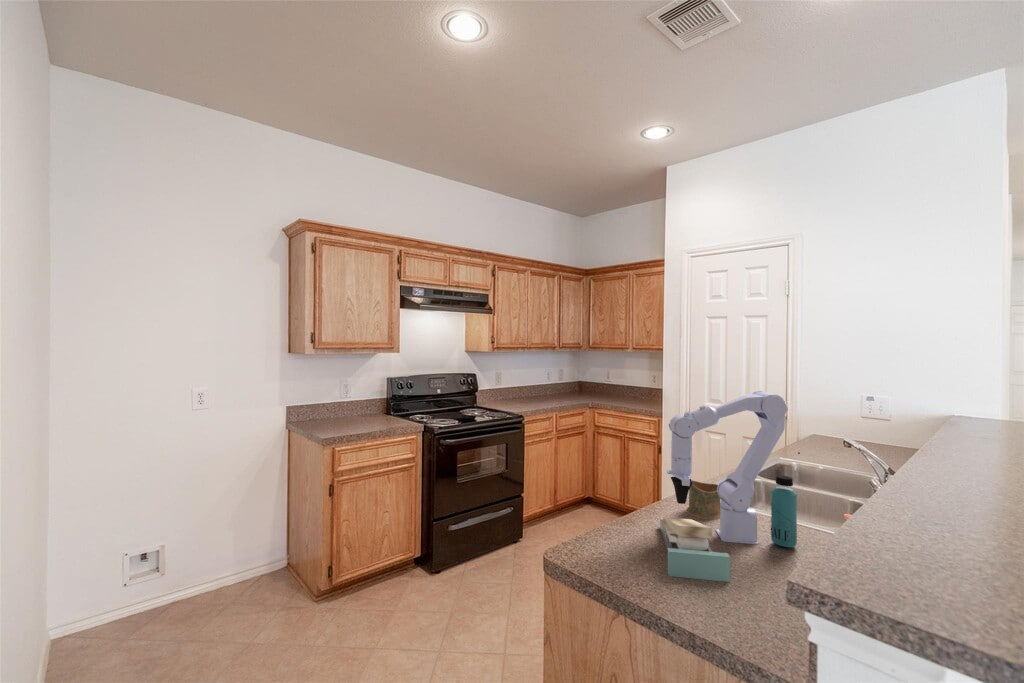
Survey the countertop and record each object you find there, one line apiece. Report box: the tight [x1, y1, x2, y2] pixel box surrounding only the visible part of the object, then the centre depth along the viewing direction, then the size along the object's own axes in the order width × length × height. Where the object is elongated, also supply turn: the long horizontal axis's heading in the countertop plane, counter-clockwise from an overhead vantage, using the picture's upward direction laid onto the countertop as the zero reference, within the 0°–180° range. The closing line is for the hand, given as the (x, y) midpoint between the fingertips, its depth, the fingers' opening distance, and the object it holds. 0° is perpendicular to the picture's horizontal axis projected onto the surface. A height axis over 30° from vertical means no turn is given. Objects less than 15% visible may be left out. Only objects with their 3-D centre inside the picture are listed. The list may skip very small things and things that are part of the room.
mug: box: [685, 479, 721, 520], centre depth 151 cm, size 12×18×12 cm, turn 73°
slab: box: [662, 517, 713, 539], centre depth 123 cm, size 8×16×2 cm, turn 176°
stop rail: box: [667, 548, 731, 583], centre depth 111 cm, size 14×2×6 cm, turn 79°
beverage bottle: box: [770, 475, 798, 548], centre depth 127 cm, size 6×7×20 cm
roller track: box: [659, 519, 713, 552], centre depth 125 cm, size 11×27×4 cm, turn 169°
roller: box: [677, 536, 709, 551], centre depth 117 cm, size 7×4×4 cm, turn 109°
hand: (681, 502), depth 134 cm, fingers closed
